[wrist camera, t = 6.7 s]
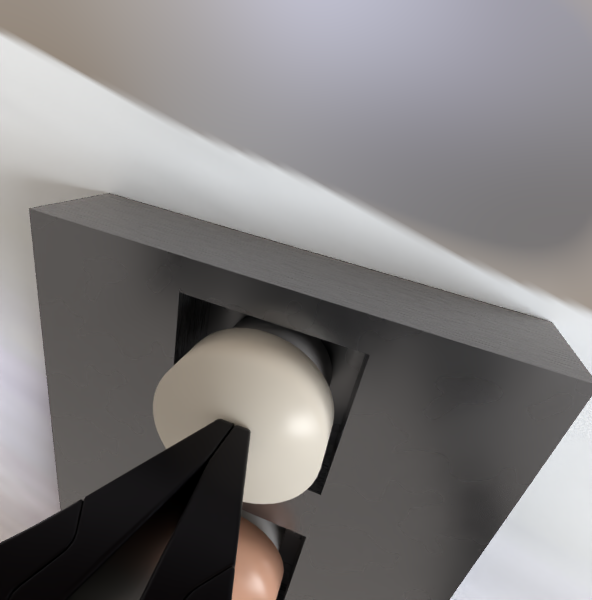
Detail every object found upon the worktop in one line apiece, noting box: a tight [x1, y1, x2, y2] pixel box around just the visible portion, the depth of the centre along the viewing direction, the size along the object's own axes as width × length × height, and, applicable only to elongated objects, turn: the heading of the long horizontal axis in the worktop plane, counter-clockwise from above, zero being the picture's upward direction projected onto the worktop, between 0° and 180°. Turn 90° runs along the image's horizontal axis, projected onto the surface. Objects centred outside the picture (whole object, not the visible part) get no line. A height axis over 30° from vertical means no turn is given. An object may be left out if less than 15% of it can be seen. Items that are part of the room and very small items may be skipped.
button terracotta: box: [232, 510, 286, 600], centre depth 14 cm, size 4×4×3 cm
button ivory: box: [153, 316, 334, 504], centre depth 11 cm, size 4×4×3 cm
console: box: [29, 193, 592, 600], centre depth 15 cm, size 14×21×3 cm, turn 168°
